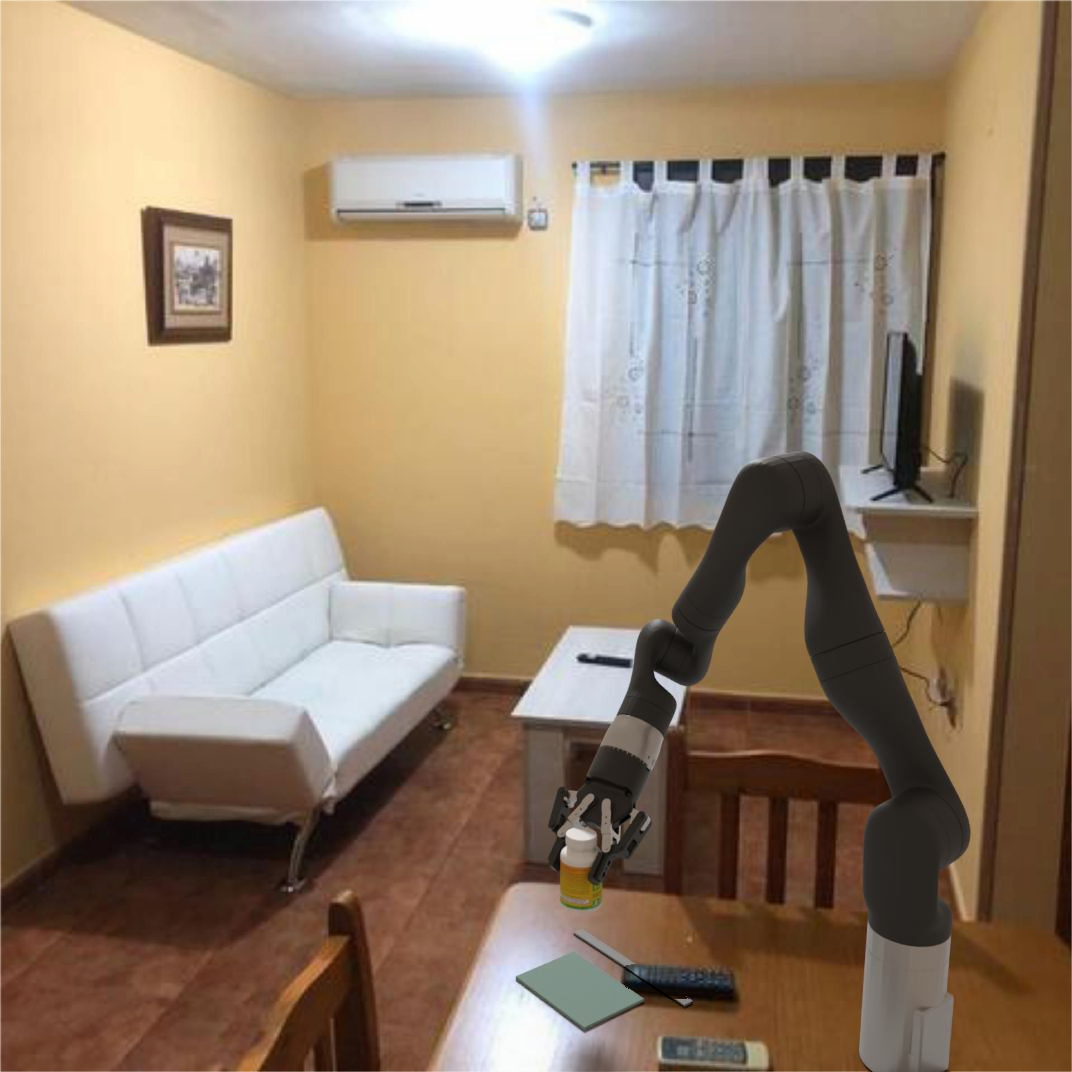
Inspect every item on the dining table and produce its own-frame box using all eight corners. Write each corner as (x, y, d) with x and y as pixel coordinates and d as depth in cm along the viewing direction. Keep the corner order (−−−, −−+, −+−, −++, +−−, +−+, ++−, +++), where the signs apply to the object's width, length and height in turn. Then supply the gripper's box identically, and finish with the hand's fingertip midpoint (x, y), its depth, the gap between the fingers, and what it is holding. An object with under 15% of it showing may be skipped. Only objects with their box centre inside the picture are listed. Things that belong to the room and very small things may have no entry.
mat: (643, 1001, 149) (643, 998, 148) (584, 1030, 143) (584, 1027, 142) (573, 954, 159) (574, 951, 159) (515, 979, 153) (515, 976, 153)
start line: (692, 1002, 148) (692, 1000, 148) (684, 1007, 147) (684, 1004, 147) (581, 930, 165) (581, 928, 165) (573, 934, 164) (573, 932, 164)
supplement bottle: (598, 916, 146) (599, 845, 144) (556, 912, 147) (556, 841, 145) (604, 896, 151) (605, 826, 149) (564, 891, 152) (564, 822, 150)
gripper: (570, 732, 155) (514, 848, 148) (662, 757, 147) (608, 881, 140) (592, 757, 160) (539, 870, 153) (682, 783, 152) (631, 904, 145)
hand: (573, 875), depth 146 cm, fingers closed on supplement bottle, 5 cm apart
